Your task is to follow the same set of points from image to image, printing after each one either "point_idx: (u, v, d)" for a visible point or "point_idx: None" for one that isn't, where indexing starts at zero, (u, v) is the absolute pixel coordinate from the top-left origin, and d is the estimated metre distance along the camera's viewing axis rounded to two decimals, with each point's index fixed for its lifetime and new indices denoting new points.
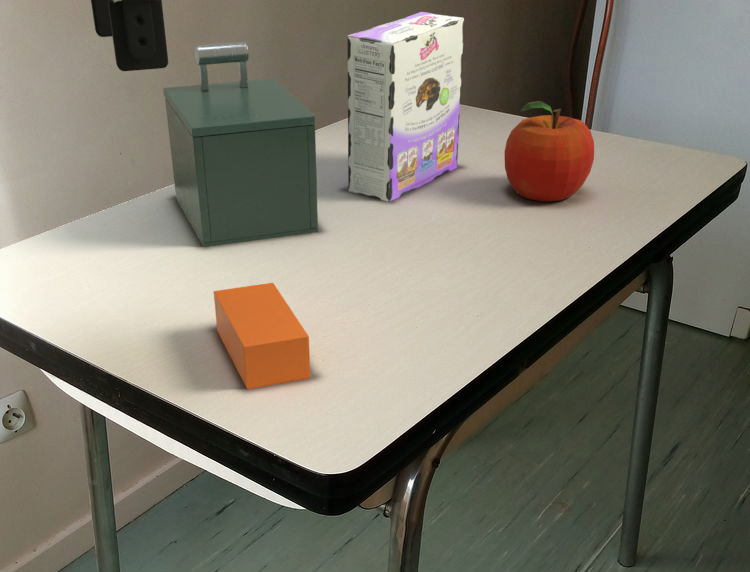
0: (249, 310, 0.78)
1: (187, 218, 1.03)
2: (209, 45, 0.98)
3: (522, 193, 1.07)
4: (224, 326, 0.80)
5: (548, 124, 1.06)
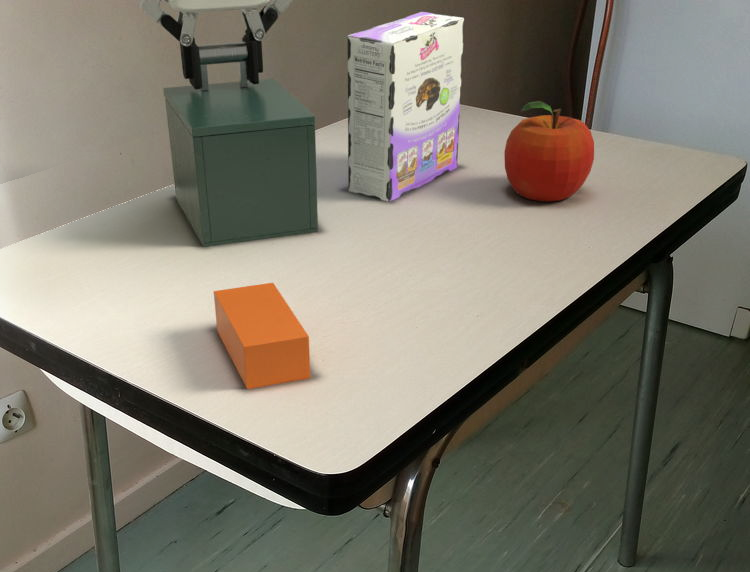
0: (249, 310, 0.78)
1: (187, 218, 1.03)
2: (209, 45, 0.98)
3: (522, 193, 1.07)
4: (224, 326, 0.80)
5: (548, 124, 1.06)
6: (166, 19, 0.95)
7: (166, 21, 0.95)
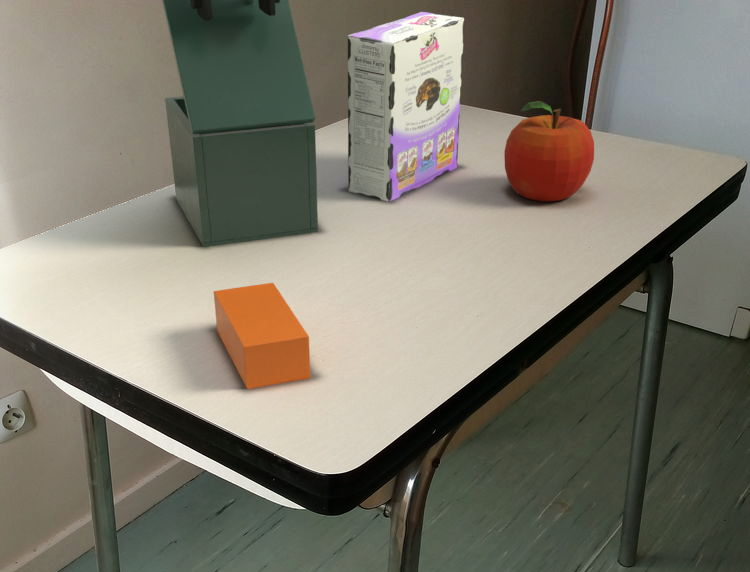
0: (249, 310, 0.78)
1: (187, 218, 1.03)
2: None
3: (522, 193, 1.07)
4: (224, 326, 0.80)
5: (548, 124, 1.06)
6: None
7: None
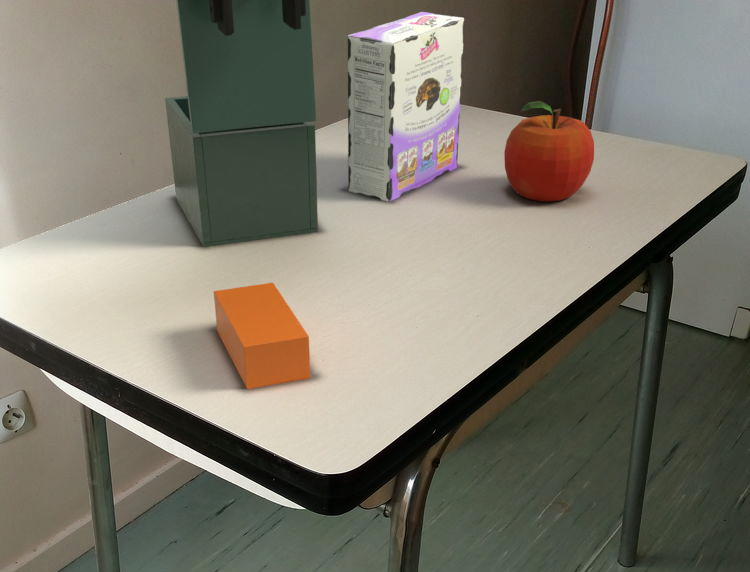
0: (249, 310, 0.78)
1: (187, 218, 1.03)
2: None
3: (522, 193, 1.07)
4: (224, 326, 0.80)
5: (548, 124, 1.06)
6: None
7: None
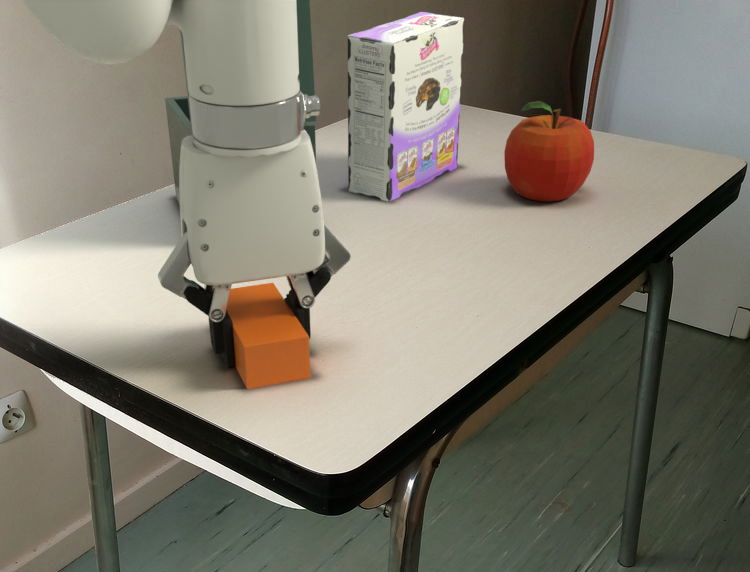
0: (249, 310, 0.78)
1: None
2: None
3: (522, 193, 1.07)
4: None
5: (548, 124, 1.06)
6: (192, 293, 0.74)
7: (192, 295, 0.74)
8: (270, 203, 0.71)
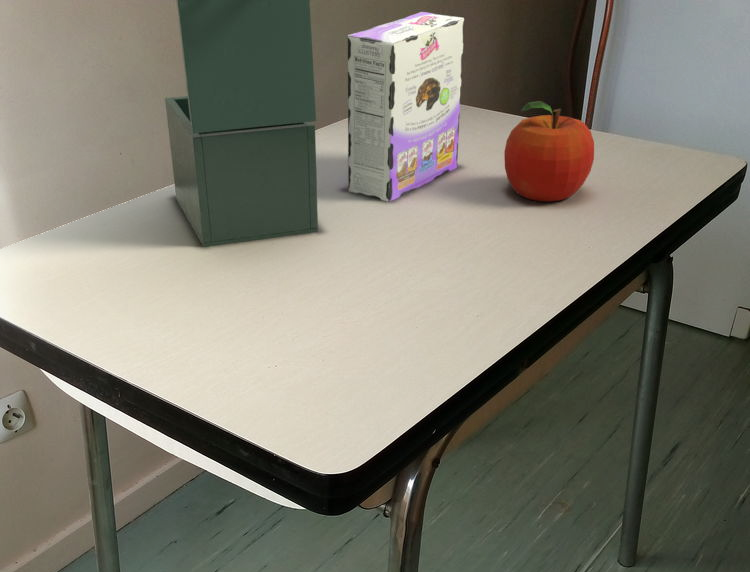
0: None
1: (187, 218, 1.03)
2: None
3: (522, 193, 1.07)
4: None
5: (548, 124, 1.06)
6: None
7: None
8: None
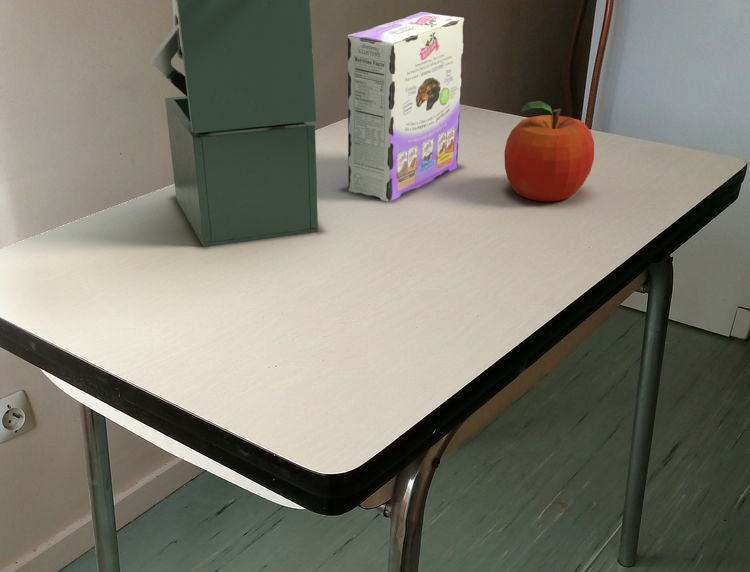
0: None
1: (187, 218, 1.03)
2: None
3: (522, 193, 1.07)
4: None
5: (548, 124, 1.06)
6: (176, 77, 0.93)
7: (176, 79, 0.93)
8: None
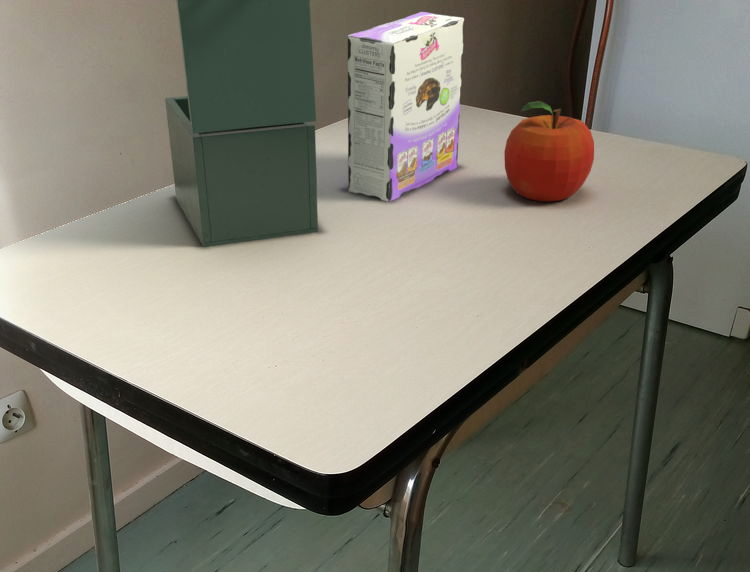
0: None
1: (187, 218, 1.03)
2: None
3: (522, 193, 1.07)
4: None
5: (548, 124, 1.06)
6: None
7: None
8: None
